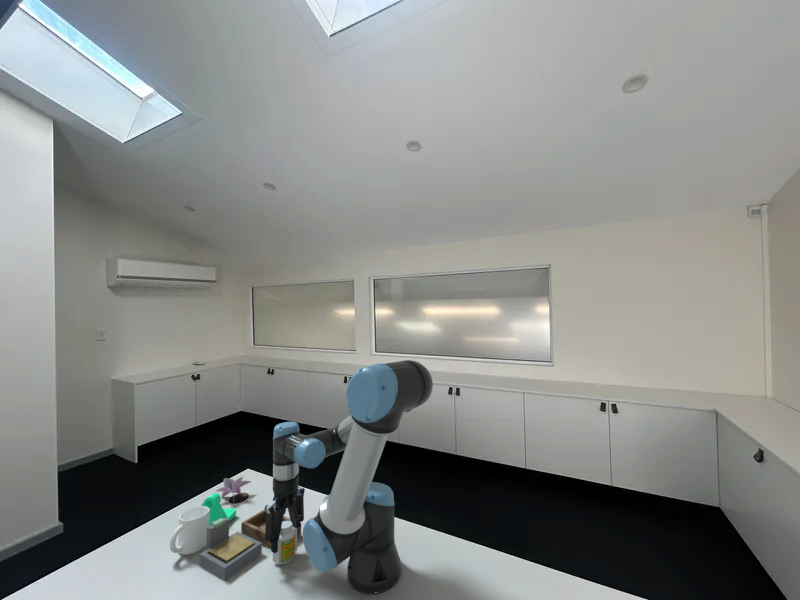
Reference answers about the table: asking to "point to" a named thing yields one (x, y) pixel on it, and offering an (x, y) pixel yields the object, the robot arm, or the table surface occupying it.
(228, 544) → the contact pad
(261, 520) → the trough
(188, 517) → the mug
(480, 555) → the table surface
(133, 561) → the table surface
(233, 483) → the lily
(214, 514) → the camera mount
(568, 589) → the table surface
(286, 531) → the supplement bottle
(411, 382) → the robot arm
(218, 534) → the grey stepped block
